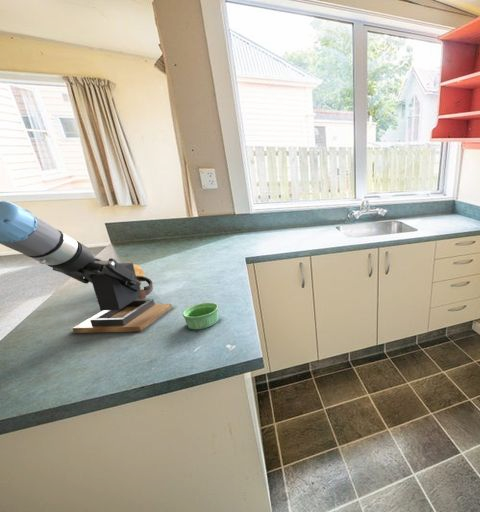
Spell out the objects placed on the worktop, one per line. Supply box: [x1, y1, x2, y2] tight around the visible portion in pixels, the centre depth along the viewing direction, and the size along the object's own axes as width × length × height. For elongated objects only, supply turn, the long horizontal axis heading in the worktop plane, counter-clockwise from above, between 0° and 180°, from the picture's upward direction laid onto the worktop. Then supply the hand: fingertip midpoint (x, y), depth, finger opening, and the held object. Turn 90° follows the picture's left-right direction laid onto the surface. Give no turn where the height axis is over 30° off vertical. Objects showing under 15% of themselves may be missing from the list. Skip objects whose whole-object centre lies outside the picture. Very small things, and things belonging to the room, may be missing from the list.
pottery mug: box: [136, 276, 154, 300], centre depth 102 cm, size 12×10×8 cm
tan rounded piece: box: [133, 263, 146, 283], centre depth 111 cm, size 10×14×8 cm
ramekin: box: [182, 302, 220, 330], centre depth 87 cm, size 9×9×4 cm
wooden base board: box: [71, 298, 173, 334], centre depth 89 cm, size 18×14×4 cm
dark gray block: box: [91, 262, 141, 311], centre depth 86 cm, size 5×9×11 cm, turn 6°
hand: (127, 287), depth 90 cm, fingers closed on dark gray block, 5 cm apart
